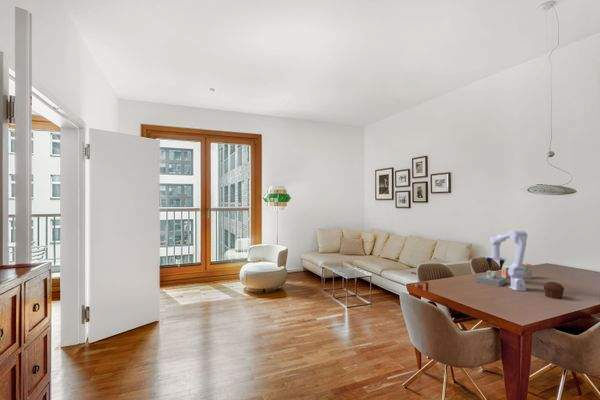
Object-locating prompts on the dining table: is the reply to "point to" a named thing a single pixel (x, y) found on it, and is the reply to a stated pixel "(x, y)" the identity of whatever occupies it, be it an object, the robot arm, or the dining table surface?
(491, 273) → the sage cube
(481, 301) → the dining table surface
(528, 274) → the stack of blocks
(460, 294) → the dining table surface
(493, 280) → the base block
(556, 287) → the muffin
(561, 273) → the dining table surface
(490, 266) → the robot arm
